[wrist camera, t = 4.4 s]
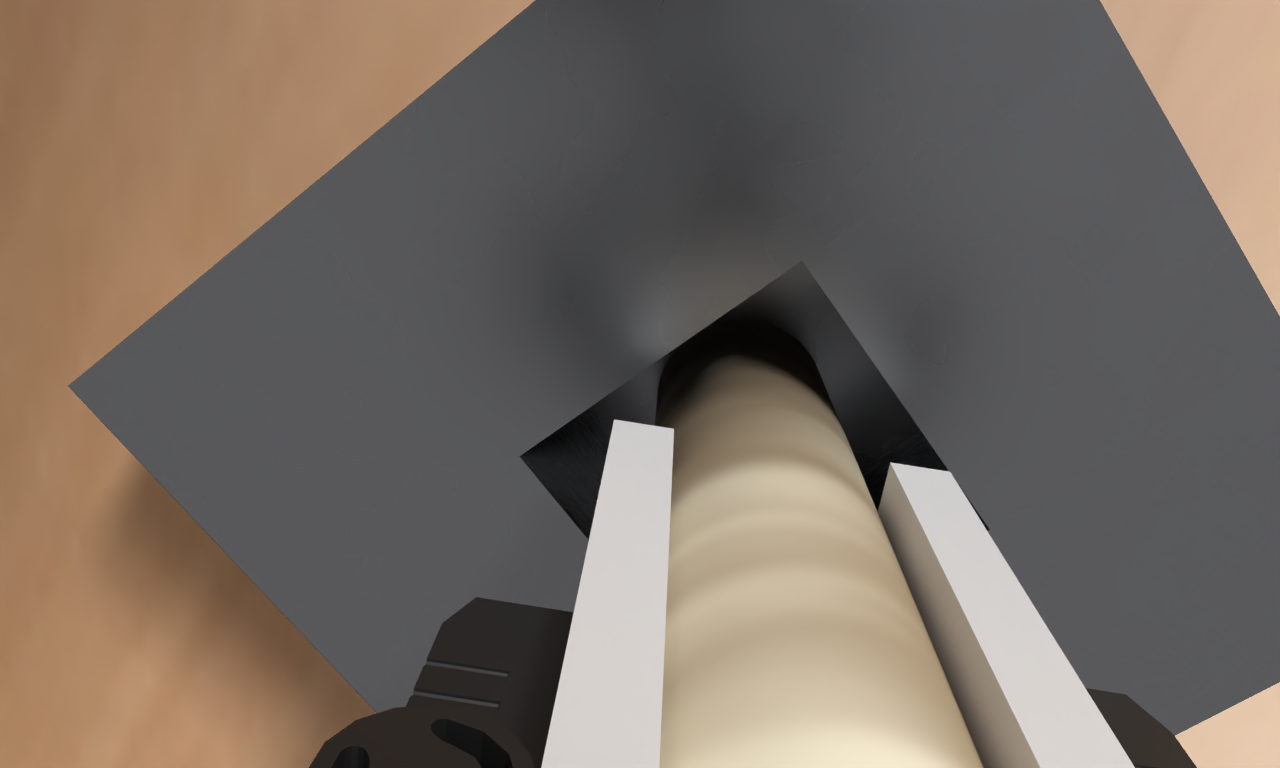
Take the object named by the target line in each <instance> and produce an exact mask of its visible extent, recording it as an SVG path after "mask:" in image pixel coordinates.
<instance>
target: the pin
mask: <svg viewBox="0 0 1280 768" xmlns="http://www.w3.org/2000/svg"><path fill="white" fill-rule="evenodd" d="M655 426H659V427H666V428H672V429H674V443H673V466H672V489H671V512H670V535H669V558H668V581H667V604H666V627H665V650H664V673H663V696H662V719H661V742H660V765H659V768H984V766H983V764H982V761H981V759H980V757H979V754H978V752H977V749H976V747H975V745H974V742H973V740H972V737H971V735H970V733H969V730H968V728H967V725H966V723H965V721H964V718H963V716H962V713H961V711H960V709H959V706H958V704H957V701H956V699H955V697H954V694H953V692H952V689H951V687H950V685H949V682H948V680H947V677H946V675H945V673H944V670H943V668H942V665H941V663H940V661H939V658H938V656H937V653H936V651H935V649H934V646H933V644H932V641H931V639H930V637H929V634H928V632H927V629H926V627H925V625H924V622H923V620H922V617H921V615H920V613H919V610H918V608H917V605H916V603H915V601H914V598H913V596H912V593H911V591H910V589H909V586H908V584H907V581H906V579H905V577H904V574H903V572H902V569H901V567H900V565H899V562H898V560H897V557H896V555H895V553H894V550H893V548H892V545H891V543H890V541H889V538H888V536H887V533H886V531H885V529H884V526H883V524H882V521H881V519H880V517H879V514H878V512H877V509H876V507H875V505H874V502H873V500H872V497H871V495H870V493H869V490H868V488H867V485H866V483H865V481H864V478H863V476H862V473H861V471H860V469H859V466H858V464H857V461H856V459H855V457H854V454H853V452H852V449H851V447H850V445H849V442H848V440H847V437H846V435H845V433H844V430H843V428H842V425H841V423H840V421H839V418H838V416H837V413H836V411H835V409H834V406H833V404H832V401H831V399H830V397H829V394H828V392H827V389H826V387H825V385H824V382H823V380H822V377H821V375H820V373H819V370H818V368H817V366H816V363H815V362H814V360H813V358H812V357H811V355H810V354H809V352H808V351H807V350H806V349H805V348H804V346H803V345H802V344H801V343H799V342H798V341H797V340H796V339H795V338H794V337H792V336H791V335H789V334H788V333H787V332H785V331H783V330H781V329H779V328H777V327H774V326H772V325H769V324H766V323H762V322H757V321H749V320H733V321H727V322H721V323H718V324H714V325H711V326H709V327H707V328H704V329H702V330H701V331H699V332H698V333H697V334H695V335H694V336H692V337H691V338H689V339H688V340H687V341H685V342H684V343H682V344H681V345H680V346H679V347H678V348H677V349H676V350H675V352H674V353H673V354H672V356H671V357H670V358H669V360H668V362H667V364H666V366H665V367H664V370H663V372H662V375H661V378H660V382H659V386H658V394H657V405H656V417H655Z"/></svg>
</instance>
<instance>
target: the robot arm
mask: <svg viewBox="0 0 1280 768" xmlns="http://www.w3.org/2000/svg"><path fill="white" fill-rule="evenodd" d="M673 443H674V429H672V428H666V427H659V426H653V425H646V424H640V423H634V422H627V421H621V420H614V423H613V427H612V432H611V437H610V442H609V447H608V451H607V456H606V461H605V466H604V470H603V475H602V480H601V485H600V489H599V494H598V499H597V504H596V509H595V513H594V518H593V523H592V528H591V532H590V537H589V542H588V547H587V552H586V556H585V561H584V566H583V571H582V575H581V580H580V585H579V590H578V594H577V599H576V604H575V609H574V612H569V611H563V610H556V609H550V608H543V607H537V606H530V605H524V604H518V603H511V602H505V601H498V600H492V599H485V598H479V597H476V598H474V599H473V600H472V601H471V602H469V603H468V604H467V605H465V606H464V607H463V608H461V609H460V610H459V611H457V612H456V613H455V614H454V615H452V616H451V617H450V618H448V619H447V620H446V621H444V622H443V623H442V625H441V627H440V629H439V632H438V634H437V636H436V639H435V641H434V643H433V645H432V648H431V650H430V652H429V655H428V657H427V661H426V665H424V666H423V668H422V671H421V673H420V675H419V677H418V680H417V682H416V684H415V687H414V691H413V695H412V696H410V698H409V700H408V703H407V705H406V707H397V708H392V709H389V710H386V711H383V712H380V713H377V714H374V715H371V716H368V717H365V718H362V719H359V720H356V721H354V722H353V723H352V724H350V725H349V726H347V727H346V728H345V729H343V730H342V731H340V732H339V733H337V734H336V735H335V736H333V737H332V738H330V739H329V740H328V741H326V742H325V743H324V744H323V746H322V748H321V749H320V751H319V752H318V754H317V756H316V757H315V759H314V760H313V762H312V764H311V765H310V767H309V768H659V765H660V742H661V719H662V696H663V673H664V650H665V627H666V604H667V581H668V558H669V535H670V512H671V489H672V466H673ZM878 514H879V517H880V519H881V521H882V524H883V526H884V529H885V531H886V533H887V536H888V538H889V541H890V543H891V545H892V548H893V550H894V553H895V555H896V557H897V560H898V562H899V565H900V567H901V569H902V572H903V574H904V577H905V579H906V581H907V584H908V586H909V589H910V591H911V593H912V596H913V598H914V601H915V603H916V605H917V608H918V610H919V613H920V615H921V617H922V620H923V622H924V625H925V627H926V629H927V632H928V634H929V637H930V639H931V641H932V644H933V646H934V649H935V651H936V653H937V656H938V658H939V661H940V663H941V665H942V668H943V670H944V673H945V675H946V677H947V680H948V682H949V685H950V687H951V689H952V692H953V694H954V697H955V699H956V701H957V704H958V706H959V709H960V711H961V713H962V716H963V718H964V721H965V723H966V725H967V728H968V730H969V733H970V735H971V737H972V740H973V742H974V745H975V747H976V749H977V752H978V754H979V757H980V759H981V761H982V764H983V766H984V768H1197V767H1196V766H1195V764H1194V763H1193V762H1192V760H1191V759H1190V757H1189V756H1188V755H1187V753H1186V752H1185V750H1184V749H1183V748H1182V746H1181V745H1180V743H1179V742H1178V740H1177V739H1176V738H1175V736H1174V735H1173V733H1172V732H1171V731H1169V730H1168V729H1167V728H1166V727H1164V726H1163V725H1162V724H1161V723H1160V722H1158V721H1157V720H1156V719H1155V718H1154V717H1152V716H1151V715H1150V714H1149V713H1148V712H1146V711H1145V710H1144V709H1143V708H1142V707H1140V706H1139V705H1138V704H1137V703H1136V702H1134V701H1133V700H1132V699H1131V698H1130V697H1128V696H1127V695H1126V694H1120V693H1114V692H1108V691H1101V690H1095V689H1088V688H1085V687H1084V685H1083V684H1082V682H1081V680H1080V679H1079V677H1078V676H1077V674H1076V672H1075V671H1074V669H1073V668H1072V666H1071V664H1070V663H1069V661H1068V660H1067V658H1066V656H1065V655H1064V653H1063V652H1062V650H1061V648H1060V647H1059V645H1058V644H1057V642H1056V640H1055V639H1054V637H1053V636H1052V634H1051V632H1050V631H1049V629H1048V628H1047V626H1046V624H1045V623H1044V621H1043V620H1042V618H1041V616H1040V615H1039V613H1038V612H1037V610H1036V608H1035V607H1034V605H1033V604H1032V602H1031V600H1030V599H1029V597H1028V596H1027V594H1026V592H1025V591H1024V589H1023V588H1022V586H1021V584H1020V583H1019V581H1018V579H1017V578H1016V576H1015V575H1014V573H1013V571H1012V570H1011V568H1010V567H1009V565H1008V563H1007V562H1006V560H1005V559H1004V557H1003V555H1002V554H1001V552H1000V551H999V549H998V547H997V546H996V544H995V543H994V541H993V539H992V538H991V536H990V535H989V533H988V531H987V530H986V528H985V527H984V525H983V523H982V522H981V520H980V519H979V517H978V515H977V514H976V512H975V511H974V509H973V507H972V506H971V504H970V503H969V501H968V499H967V498H966V496H965V495H964V493H963V491H962V490H961V488H960V487H959V485H958V483H957V482H956V480H955V479H954V477H953V475H952V474H951V472H948V471H942V470H936V469H929V468H923V467H916V466H910V465H903V464H897V463H891V462H890V466H889V470H888V474H887V478H886V482H885V486H884V490H883V494H882V498H881V502H880V506H879V510H878Z"/></svg>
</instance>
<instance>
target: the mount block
mask: <svg viewBox="0 0 1280 768" xmlns="http://www.w3.org/2000/svg"><path fill="white" fill-rule="evenodd" d="M733 320H749V321H757V322H762V323H766V324H769V325H772V326H774V327H777V328H779V329H781V330H783V331H785V332H787V333H788V334H789V335H791V336H792V337H794V338H795V339H796V340H797V341H798V342H799V343H801V344H802V345H803V346H804V348H805V349H806V350H807V351H808V352H809V354H810V355H811V357H812V358H813V360H814V362H815V363H816V366H817V368H818V370H819V373H820V375H821V377H822V380H823V382H824V385H825V387H826V389H827V392H828V394H829V397H830V399H831V401H832V404H833V406H834V409H835V411H836V413H837V416H838V418H839V421H840V423H841V425H842V428H843V430H844V433H845V435H846V437H847V440H848V442H849V445H850V447H851V449H852V452H853V454H854V457H855V459H856V461H857V464H858V466H859V469H860V471H861V473H862V476H863V478H864V481H865V483H866V485H867V488H868V490H869V493H870V495H871V497H872V500H873V502H874V505H875V507H876V509H877V512H878V510H879V506H880V502H881V498H882V494H883V490H884V486H885V482H886V478H887V474H888V470H889V466H890V462H891V463H897V464H903V465H910V466H916V467H923V468H929V469H936V470H942V471H948V472H951V474H952V475H953V477H954V479H955V480H956V482H957V483H958V485H959V487H960V488H961V490H962V491H963V493H964V495H965V496H966V498H967V499H968V501H969V503H970V504H971V506H972V507H973V509H974V511H975V512H976V514H977V515H978V517H979V519H980V520H981V522H982V523H983V525H984V527H985V528H986V530H987V531H988V533H989V535H990V536H991V538H992V539H993V541H994V543H995V544H996V546H997V547H998V549H999V551H1000V552H1001V554H1002V555H1003V557H1004V559H1005V560H1006V562H1007V563H1008V565H1009V567H1010V568H1011V570H1012V571H1013V573H1014V575H1015V576H1016V578H1017V579H1018V581H1019V583H1020V584H1021V586H1022V588H1023V589H1024V591H1025V592H1026V594H1027V596H1028V597H1029V599H1030V600H1031V602H1032V604H1033V605H1034V607H1035V608H1036V610H1037V612H1038V613H1039V615H1040V616H1041V618H1042V620H1043V621H1044V623H1045V624H1046V626H1047V628H1048V629H1049V631H1050V632H1051V634H1052V636H1053V637H1054V639H1055V640H1056V642H1057V644H1058V645H1059V647H1060V648H1061V650H1062V652H1063V653H1064V655H1065V656H1066V658H1067V660H1068V661H1069V663H1070V664H1071V666H1072V668H1073V669H1074V671H1075V672H1076V674H1077V676H1078V677H1079V679H1080V680H1081V682H1082V684H1083V685H1084V687H1085V688H1088V689H1095V690H1101V691H1108V692H1114V693H1120V694H1126V695H1127V696H1128V697H1130V698H1131V699H1132V700H1133V701H1134V702H1136V703H1137V704H1138V705H1139V706H1140V707H1142V708H1143V709H1144V710H1145V711H1146V712H1148V713H1149V714H1150V715H1151V716H1152V717H1154V718H1155V719H1156V720H1157V721H1158V722H1160V723H1161V724H1162V725H1163V726H1164V727H1166V728H1167V729H1168V730H1169V731H1171V732H1172V733H1173V735H1174V736H1175V735H1177V734H1179V733H1181V732H1183V731H1185V730H1187V729H1189V728H1190V727H1192V726H1194V725H1196V724H1198V723H1200V722H1202V721H1204V720H1206V719H1208V718H1210V717H1212V716H1214V715H1216V714H1218V713H1220V712H1222V711H1224V710H1226V709H1228V708H1230V707H1232V706H1234V705H1236V704H1238V703H1239V702H1241V701H1243V700H1245V699H1247V698H1249V697H1251V696H1253V695H1255V694H1257V693H1259V692H1261V691H1263V690H1265V689H1267V688H1269V687H1271V686H1273V685H1275V684H1277V683H1279V682H1280V316H1279V315H1278V313H1277V311H1276V309H1275V308H1274V306H1273V304H1272V302H1271V301H1270V299H1269V297H1268V295H1267V294H1266V292H1265V290H1264V288H1263V287H1262V285H1261V283H1260V281H1259V280H1258V278H1257V276H1256V274H1255V272H1254V271H1253V269H1252V267H1251V265H1250V264H1249V262H1248V260H1247V258H1246V257H1245V255H1244V253H1243V251H1242V250H1241V248H1240V246H1239V244H1238V243H1237V241H1236V239H1235V237H1234V236H1233V234H1232V232H1231V230H1230V229H1229V227H1228V225H1227V223H1226V222H1225V220H1224V218H1223V216H1222V214H1221V213H1220V211H1219V209H1218V207H1217V206H1216V204H1215V202H1214V200H1213V199H1212V197H1211V195H1210V193H1209V192H1208V190H1207V188H1206V186H1205V185H1204V183H1203V181H1202V179H1201V178H1200V176H1199V174H1198V172H1197V171H1196V169H1195V167H1194V165H1193V164H1192V162H1191V160H1190V158H1189V157H1188V155H1187V153H1186V151H1185V149H1184V148H1183V146H1182V144H1181V142H1180V141H1179V139H1178V137H1177V135H1176V134H1175V132H1174V130H1173V128H1172V127H1171V125H1170V123H1169V121H1168V120H1167V118H1166V116H1165V114H1164V113H1163V111H1162V109H1161V107H1160V106H1159V104H1158V102H1157V100H1156V99H1155V97H1154V95H1153V93H1152V92H1151V90H1150V88H1149V86H1148V84H1147V83H1146V81H1145V79H1144V77H1143V76H1142V74H1141V72H1140V70H1139V69H1138V67H1137V65H1136V63H1135V62H1134V60H1133V58H1132V56H1131V55H1130V53H1129V51H1128V49H1127V48H1126V46H1125V44H1124V42H1123V41H1122V39H1121V37H1120V35H1119V34H1118V32H1117V30H1116V28H1115V27H1114V25H1113V23H1112V21H1111V19H1110V18H1109V16H1108V14H1107V12H1106V11H1105V9H1104V7H1103V5H1102V4H1101V2H1100V0H536V1H534V2H533V3H532V4H531V5H529V6H528V7H527V8H526V9H525V10H523V11H522V12H521V13H520V14H519V15H517V16H516V17H515V18H514V19H512V20H511V21H510V22H509V23H508V24H506V25H505V26H504V27H503V28H502V29H500V30H499V31H498V32H497V33H496V34H494V35H493V36H492V37H491V38H489V39H488V40H487V41H486V42H485V43H483V44H482V45H481V46H480V47H479V48H477V49H476V50H475V51H474V52H472V53H471V54H470V55H469V56H468V57H466V58H465V59H464V60H463V61H462V62H460V63H459V64H458V65H457V66H456V67H454V68H453V69H452V70H451V71H449V72H448V73H447V74H446V75H445V76H443V77H442V78H441V79H440V80H439V81H437V82H436V83H435V84H434V85H432V86H431V87H430V88H429V89H428V90H426V91H425V92H424V93H423V94H422V95H420V96H419V97H418V98H417V99H416V100H414V101H413V102H412V103H411V104H409V105H408V106H407V107H406V108H405V109H403V110H402V111H401V112H400V113H399V114H397V115H396V116H395V117H394V118H392V119H391V120H390V121H389V122H388V123H386V124H385V125H384V126H383V127H382V128H380V129H379V130H378V131H377V132H375V133H374V134H373V135H372V136H371V137H369V138H368V139H367V140H366V141H365V142H363V143H362V144H361V145H360V146H359V147H357V148H356V149H355V150H354V151H352V152H351V153H350V154H349V155H348V156H346V157H345V158H344V159H343V160H342V161H340V162H339V163H338V164H337V165H335V166H334V167H333V168H332V169H331V170H329V171H328V172H327V173H326V174H325V175H323V176H322V177H321V178H320V179H319V180H317V181H316V182H315V183H314V184H312V185H311V186H310V187H309V188H308V189H306V190H305V191H304V192H303V193H302V194H300V195H299V196H298V197H297V198H295V199H294V200H293V201H292V202H291V203H289V204H288V205H287V206H286V207H285V208H283V209H282V210H281V211H280V212H279V213H277V214H276V215H275V216H274V217H272V218H271V219H270V220H269V221H268V222H266V223H265V224H264V225H263V226H262V227H260V228H259V229H258V230H257V231H255V232H254V233H253V234H252V235H251V236H249V237H248V238H247V239H246V240H245V241H243V242H242V243H241V244H240V245H239V246H237V247H236V248H235V249H234V250H232V251H231V252H230V253H229V254H228V255H226V256H225V257H224V258H223V259H222V260H220V261H219V262H218V263H217V264H215V265H214V266H213V267H212V268H211V269H209V270H208V271H207V272H206V273H205V274H203V275H202V276H201V277H200V278H198V279H197V280H196V281H195V282H194V283H192V284H191V285H190V286H189V287H188V288H186V289H185V290H184V291H183V292H182V293H180V294H179V295H178V296H177V297H175V298H174V299H173V300H172V301H171V302H169V303H168V304H167V305H166V306H165V307H163V308H162V309H161V310H160V311H158V312H157V313H156V314H155V315H154V316H152V317H151V318H150V319H149V320H148V321H146V322H145V323H144V324H143V325H142V326H140V327H139V328H138V329H137V330H135V331H134V332H133V333H132V334H131V335H129V336H128V337H127V338H126V339H125V340H123V341H122V342H121V343H120V344H118V345H117V346H116V347H115V348H114V349H112V350H111V351H110V352H109V353H108V354H106V355H105V356H104V357H103V358H102V359H100V360H99V361H98V362H97V363H95V364H94V365H93V366H92V367H91V368H89V369H88V370H87V371H86V372H85V373H83V374H82V375H81V376H80V377H78V378H77V379H76V380H75V381H74V382H72V383H71V384H70V385H69V386H68V387H69V388H70V389H71V390H72V391H73V392H74V393H75V394H76V395H77V396H78V397H79V398H80V399H81V400H82V401H83V403H84V404H85V405H86V406H87V407H88V408H89V409H90V410H91V411H92V412H93V413H94V414H95V415H96V416H97V417H98V418H99V419H100V421H101V422H102V423H103V424H104V425H105V426H106V427H107V428H108V429H109V430H110V431H111V432H112V433H113V434H114V435H115V436H116V437H117V438H118V440H119V441H120V442H121V443H122V444H123V445H124V446H125V447H126V448H127V449H128V450H129V451H130V452H131V453H132V454H133V455H134V456H135V458H136V459H137V460H138V461H139V462H140V463H141V464H142V465H143V466H144V467H145V468H146V469H147V470H148V471H149V472H150V473H151V474H152V476H153V477H154V478H155V479H156V480H157V481H158V482H159V483H160V484H161V485H162V486H163V487H164V488H165V489H166V490H167V491H168V492H169V494H170V495H171V496H172V497H173V498H174V499H175V500H176V501H177V502H178V503H179V504H180V505H181V506H182V507H183V508H184V509H185V510H186V512H187V513H188V514H189V515H190V516H191V517H192V518H193V519H194V520H195V521H196V522H197V523H198V524H199V525H200V526H201V527H202V528H203V529H204V531H205V532H206V533H207V534H208V535H209V536H210V537H211V538H212V539H213V540H214V541H215V542H216V543H217V544H218V545H219V546H220V547H221V549H222V550H223V551H224V552H225V553H226V554H227V555H228V556H229V557H230V558H231V559H232V560H233V561H234V562H235V563H236V564H237V565H238V567H239V568H240V569H241V570H242V571H243V572H244V573H245V574H246V575H247V576H248V577H249V578H250V579H251V580H252V581H253V582H254V583H255V585H256V586H257V587H258V588H259V589H260V590H261V591H262V592H263V593H264V594H265V595H266V596H267V597H268V598H269V599H270V600H271V601H272V602H273V604H274V605H275V606H276V607H277V608H278V609H279V610H280V611H281V612H282V613H283V614H284V615H285V616H286V617H287V618H288V619H289V620H290V622H291V623H292V624H293V625H294V626H295V627H296V628H297V629H298V630H299V631H300V632H301V633H302V634H303V635H304V636H305V637H306V638H307V640H308V641H309V642H310V643H311V644H312V645H313V646H314V647H315V648H316V649H317V650H318V651H319V652H320V653H321V654H322V655H323V656H324V658H325V659H326V660H327V661H328V662H329V663H330V664H331V665H332V666H333V667H334V668H335V669H336V670H337V671H338V672H339V673H340V674H341V676H342V677H343V678H344V679H345V680H346V681H347V682H348V683H349V684H350V685H351V686H352V687H353V688H354V689H355V690H356V691H357V692H358V693H359V695H360V696H361V697H362V698H363V699H364V700H365V701H366V702H367V703H368V704H369V705H370V706H371V707H372V708H373V709H374V710H375V711H376V713H380V712H383V711H386V710H389V709H392V708H397V707H406V705H407V703H408V700H409V698H410V696H412V695H413V691H414V687H415V684H416V682H417V680H418V677H419V675H420V673H421V671H422V668H423V666H424V665H426V661H427V657H428V655H429V652H430V650H431V648H432V645H433V643H434V641H435V639H436V636H437V634H438V632H439V629H440V627H441V625H442V623H443V622H444V621H446V620H447V619H448V618H450V617H451V616H452V615H454V614H455V613H456V612H457V611H459V610H460V609H461V608H463V607H464V606H465V605H467V604H468V603H469V602H471V601H472V600H473V599H474V598H476V597H479V598H485V599H492V600H498V601H505V602H511V603H518V604H524V605H530V606H537V607H543V608H550V609H556V610H563V611H569V612H574V609H575V604H576V599H577V594H578V590H579V585H580V580H581V575H582V571H583V566H584V561H585V556H586V552H587V547H588V542H589V537H590V532H591V528H592V523H593V518H594V513H595V509H596V504H597V499H598V494H599V489H600V485H601V480H602V475H603V470H604V466H605V461H606V456H607V451H608V447H609V442H610V437H611V432H612V427H613V423H614V420H621V421H627V422H634V423H640V424H646V425H653V426H655V417H656V405H657V394H658V386H659V382H660V378H661V375H662V372H663V370H664V367H665V366H666V364H667V362H668V360H669V358H670V357H671V356H672V354H673V353H674V352H675V350H676V349H677V348H678V347H679V346H680V345H681V344H682V343H684V342H685V341H687V340H688V339H689V338H691V337H692V336H694V335H695V334H697V333H698V332H699V331H701V330H702V329H704V328H707V327H709V326H711V325H714V324H718V323H721V322H727V321H733Z"/></svg>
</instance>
